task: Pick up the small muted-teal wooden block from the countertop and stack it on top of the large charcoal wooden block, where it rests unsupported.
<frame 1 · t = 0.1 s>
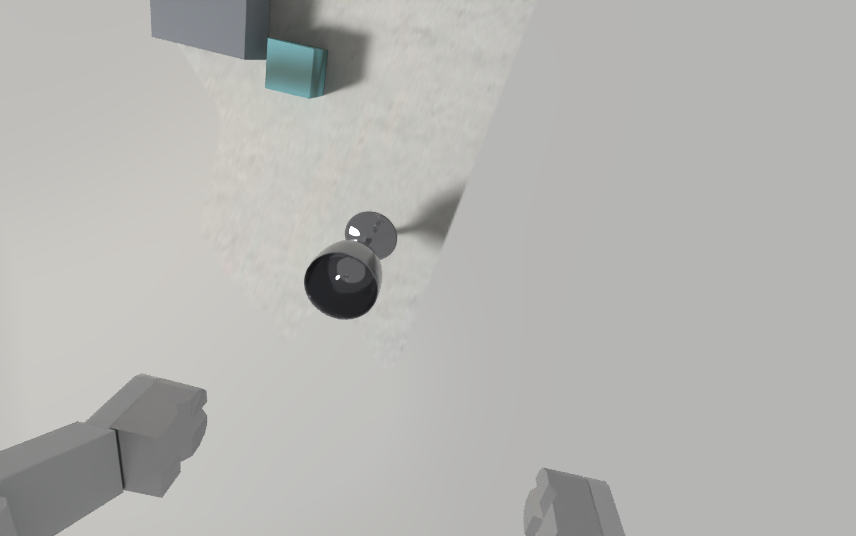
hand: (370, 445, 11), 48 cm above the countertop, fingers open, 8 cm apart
charcoal block: (227, 1, 50), on the countertop
teal block: (305, 68, 52), on the countertop
wine glass: (371, 236, 61), on the countertop
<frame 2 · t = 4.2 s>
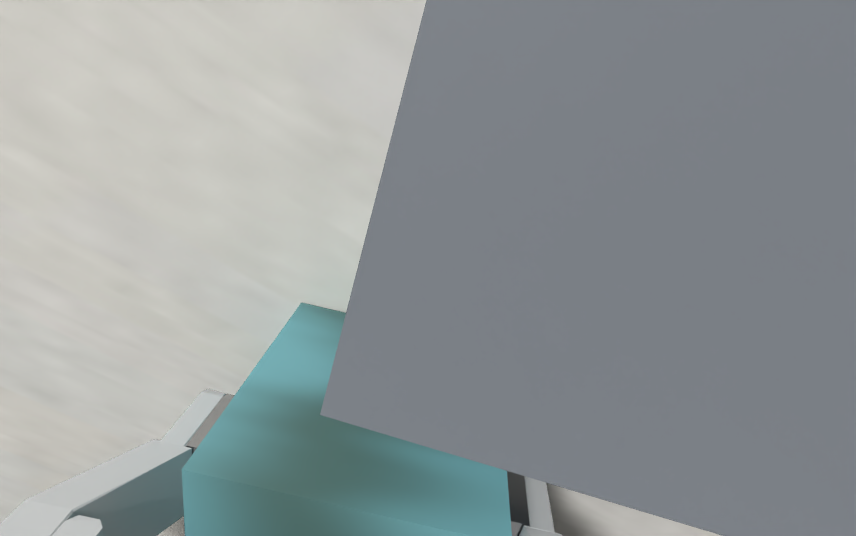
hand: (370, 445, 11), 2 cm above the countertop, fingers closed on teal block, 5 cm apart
charcoal block: (729, 68, 8), on the countertop
teal block: (383, 400, 12), on the countertop, touching gripper
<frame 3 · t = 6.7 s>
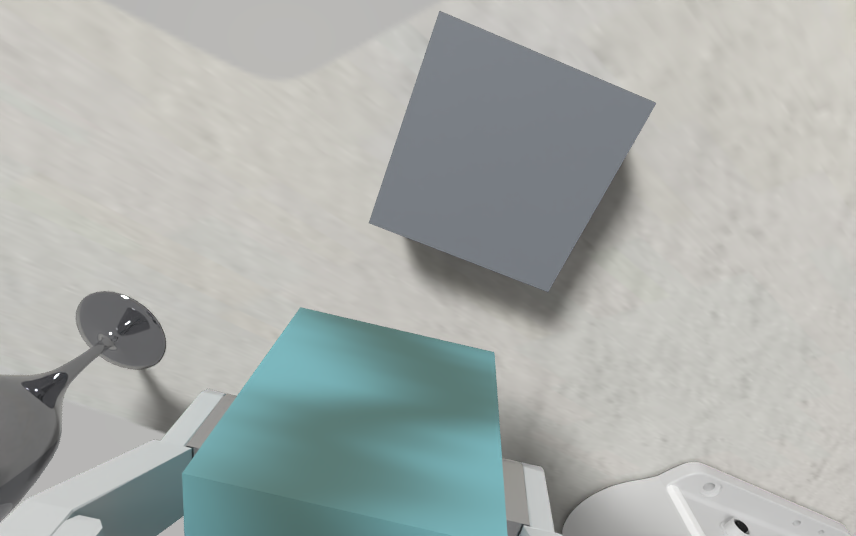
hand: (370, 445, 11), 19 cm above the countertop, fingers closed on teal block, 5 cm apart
charcoal block: (495, 146, 26), on the countertop
teal block: (381, 404, 12), point 17 cm above the countertop, touching gripper
wine glass: (122, 330, 35), on the countertop
when the fingers open (10 cm above the countertop, at t = 9.3 s): teal block drops 2 cm, resting on charcoal block.
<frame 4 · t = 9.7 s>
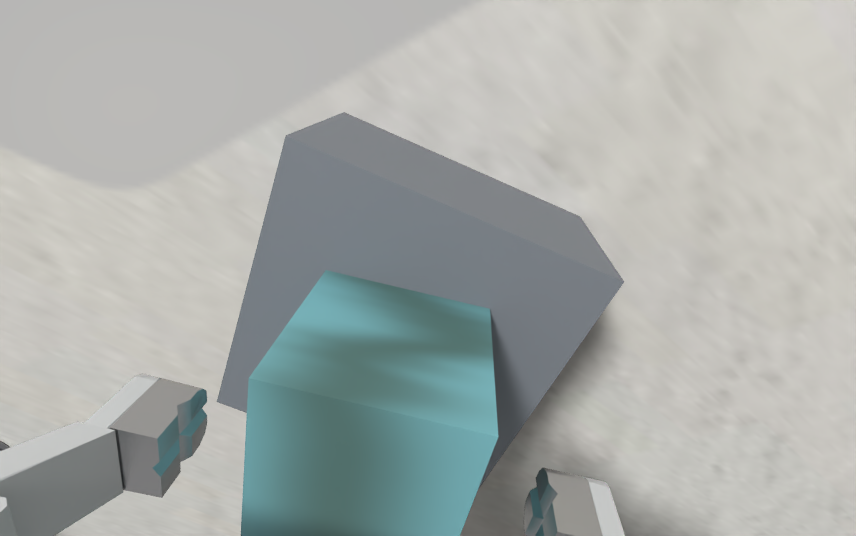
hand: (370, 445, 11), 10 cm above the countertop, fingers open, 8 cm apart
charcoal block: (417, 268, 20), on the countertop, touching teal block
teal block: (393, 356, 14), point 6 cm above the countertop, touching charcoal block
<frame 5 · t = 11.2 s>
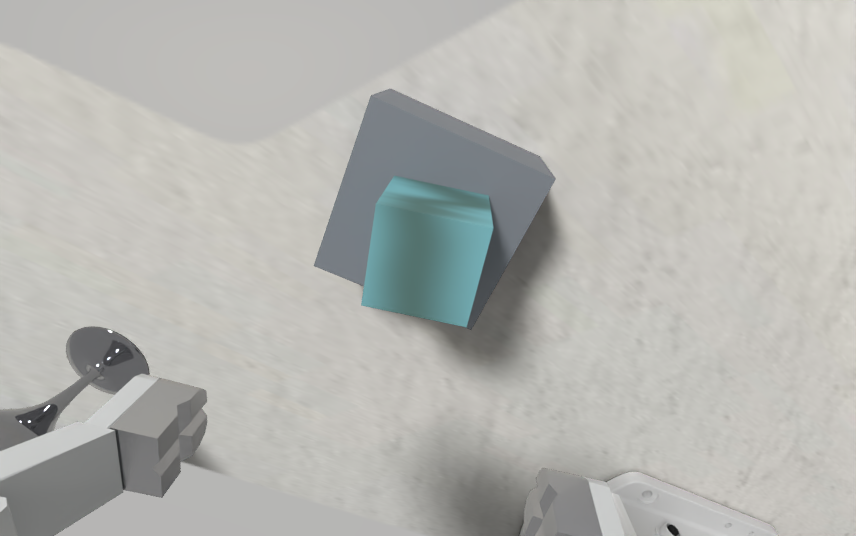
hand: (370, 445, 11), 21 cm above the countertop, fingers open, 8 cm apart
charcoal block: (434, 194, 29), on the countertop, touching teal block
teal block: (432, 229, 24), point 6 cm above the countertop, touching charcoal block
wine glass: (109, 360, 38), on the countertop
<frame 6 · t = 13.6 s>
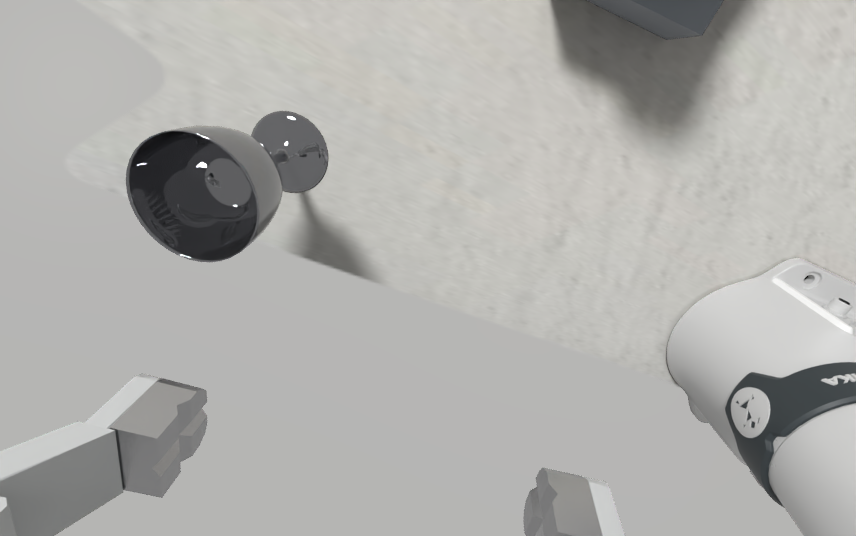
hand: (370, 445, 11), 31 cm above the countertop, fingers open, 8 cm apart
wine glass: (289, 152, 40), on the countertop
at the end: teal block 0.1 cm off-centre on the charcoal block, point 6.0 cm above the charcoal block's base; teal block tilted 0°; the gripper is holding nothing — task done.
